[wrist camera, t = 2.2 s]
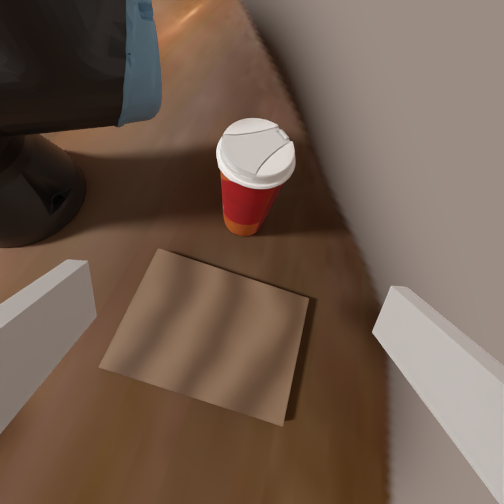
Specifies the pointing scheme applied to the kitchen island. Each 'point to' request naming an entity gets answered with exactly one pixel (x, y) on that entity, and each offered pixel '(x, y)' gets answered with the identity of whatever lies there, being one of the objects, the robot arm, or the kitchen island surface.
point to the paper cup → (252, 171)
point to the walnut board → (211, 337)
